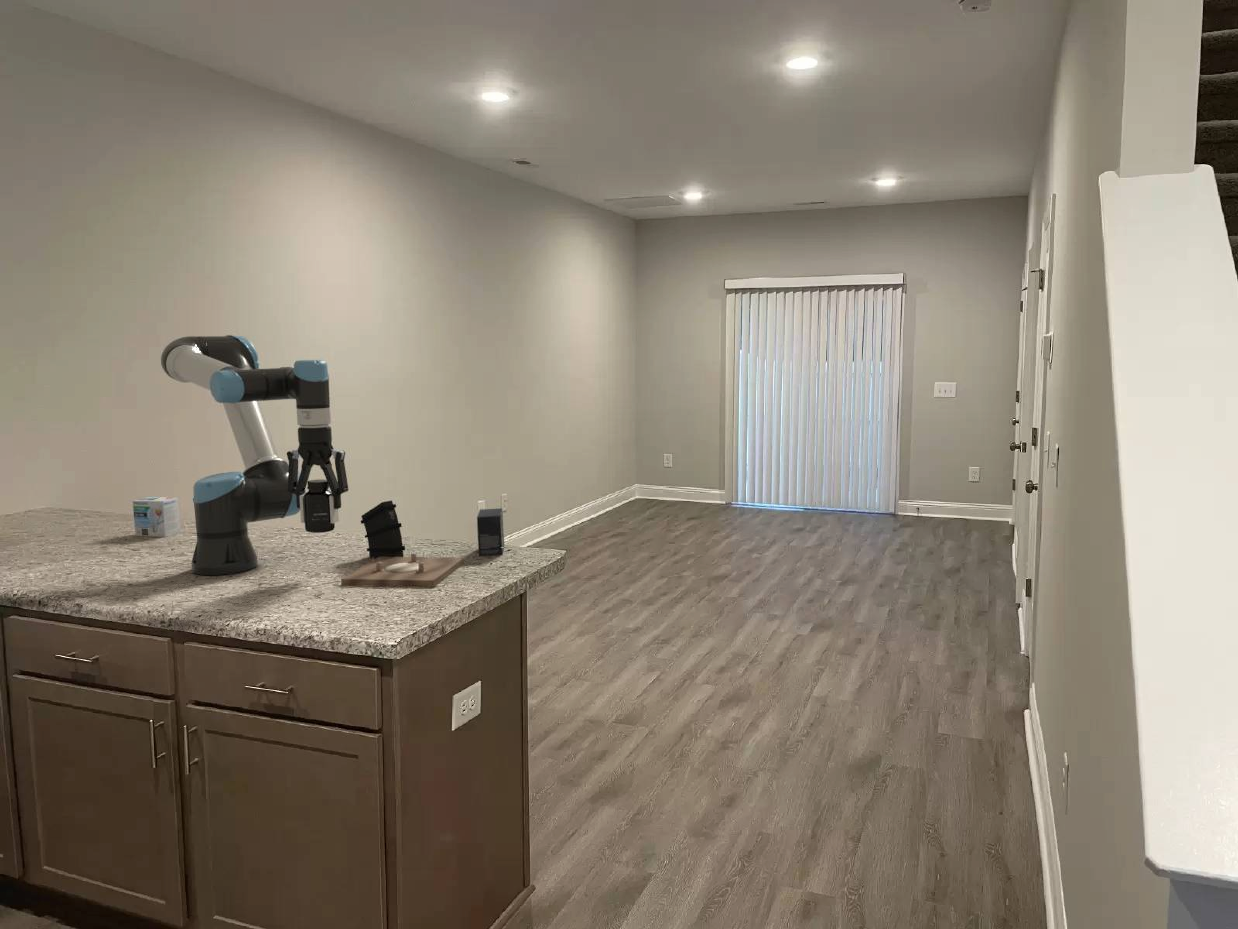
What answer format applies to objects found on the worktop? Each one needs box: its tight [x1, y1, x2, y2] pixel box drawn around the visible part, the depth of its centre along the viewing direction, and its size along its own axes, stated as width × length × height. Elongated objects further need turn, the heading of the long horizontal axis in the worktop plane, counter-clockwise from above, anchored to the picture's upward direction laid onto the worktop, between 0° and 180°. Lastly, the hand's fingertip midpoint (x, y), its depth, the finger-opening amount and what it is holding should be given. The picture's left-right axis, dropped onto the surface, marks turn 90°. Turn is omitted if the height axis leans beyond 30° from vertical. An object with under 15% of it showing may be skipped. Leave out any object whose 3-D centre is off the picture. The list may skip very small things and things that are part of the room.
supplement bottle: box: [304, 479, 336, 534], centre depth 220 cm, size 7×7×12 cm
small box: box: [476, 507, 505, 557], centre depth 242 cm, size 11×6×10 cm, turn 5°
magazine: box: [360, 500, 406, 559], centre depth 237 cm, size 4×13×15 cm, turn 50°
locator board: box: [340, 552, 465, 588], centre depth 220 cm, size 22×22×4 cm
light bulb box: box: [132, 496, 181, 538], centre depth 274 cm, size 11×7×11 cm, turn 77°
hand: (319, 521), depth 221 cm, fingers closed on supplement bottle, 7 cm apart
